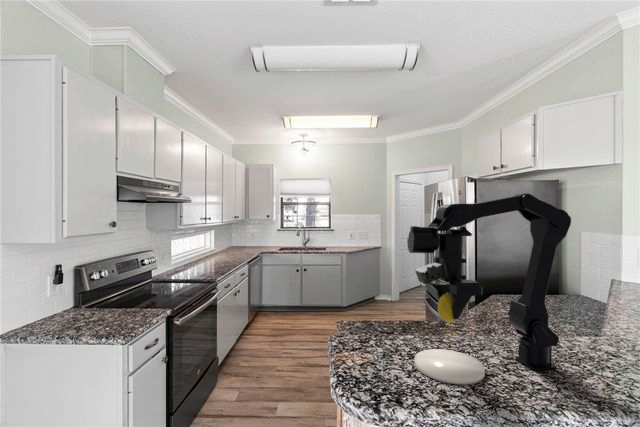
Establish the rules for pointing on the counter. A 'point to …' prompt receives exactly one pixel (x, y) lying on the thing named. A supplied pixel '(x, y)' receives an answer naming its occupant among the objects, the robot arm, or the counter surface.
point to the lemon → (445, 308)
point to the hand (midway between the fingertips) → (449, 315)
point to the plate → (449, 366)
